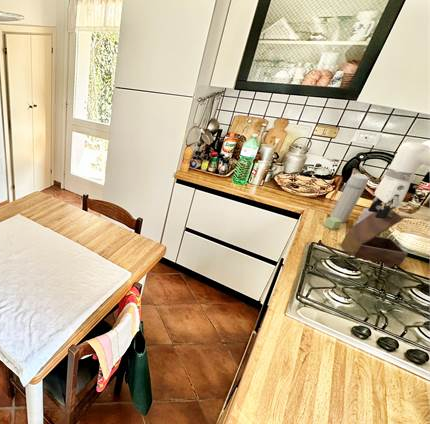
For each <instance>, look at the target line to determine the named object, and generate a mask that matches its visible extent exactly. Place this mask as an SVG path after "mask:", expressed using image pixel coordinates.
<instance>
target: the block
mask: <svg viewBox="0 0 430 424" xmlns="http://www.w3.org/2000/svg"><path fill="white" fill-rule="evenodd" d="M342 223H343V222H342V221H341V220H339V219H337V218H335V217H330V216H329V217H327V218H326V220H325V221H324V223H323V226H325V227H327V228H329V229H331V230H336V229H337V230H338V229H339V228H340V227H341V224H342Z"/></svg>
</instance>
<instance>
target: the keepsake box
mask: <svg viewBox="0 0 430 424" xmlns="http://www.w3.org/2000/svg"><path fill="white" fill-rule="evenodd" d="M340 246H341V248H342V249H343V251H344V252H345V253H346V254H347V256H348V257H349V256H351V255H353V256H355V257H360V258H363V259H366V260H370V261H372V262H374V263H376V262H379V260H381V259H382V260H383V263H384V266H383V267H385V266H387V267H386V268H390V267H391V268H390V269H393V268H392V267H393V265H394V264H397V265H398V266H399V267H400V266H401V265H402V263H403V262H404V261H405V260H406V258H407V256H408V253H407V251H405V249H403V248H402V247H401V246H400V245H399V243H397V242H396V241H395V240H394V239H393V238H392V237H391V238H390V237H386V236H381V235H380V236H379V235H378V236H376V237H374V238H373V239H371V240H370V241H368V242H366V243H365V244H363V245H361V244H360V243H359V242H358V241H357V239H356V238H355V237H354V236H353V235H352V234H351V232H350V231H349V230H348V231H347V232H346V235H345V236H344V238H343V240H342V242H341V243H340ZM350 254H351V255H350Z"/></svg>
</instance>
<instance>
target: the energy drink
mask: <svg viewBox="0 0 430 424" xmlns="http://www.w3.org/2000/svg"><path fill="white" fill-rule="evenodd" d="M369 208H370V207H364V208H363V209H362V211H361V213H360V214H359V216H358V218H357V219H356V222H355V223H354V225H353V226H355V225H356V224H357V223H359V222H360V221H362V220H363V219H365V218H366V217H368V216H369V215H371V214H372V213H374V212H369V211H368V210H369Z"/></svg>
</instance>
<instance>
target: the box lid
mask: <svg viewBox="0 0 430 424" xmlns="http://www.w3.org/2000/svg"><path fill="white" fill-rule="evenodd" d="M386 206H388V204H386ZM386 206H385V207H386ZM381 207H382V206H380V205H378V206H376V209H377V210H379V209H381ZM376 214H377V213H376V212H374V213H372V214H371V215H369V216H368V217H366V218H365V219H363V220H362V221H360V222H359V223H357V224H356V225H355V224H354V225H355V226H354V225H352V226H351V227H350V228H348V231H350V232H351V234H352V235H353V236H354V237H355V238H356V239H357V241H358V242H359V243H360V244H361V245H363V244H365V243H366V242H368V241H370V240H371V239H373V238H374V237H376V236H379V235H381V234H382V233H384V232H386V231H387V230H389V229H390V228H392V227H393V226H395V225H397V224H398V223H400V222H402V221H403V220H405V219H404V217H402V216H401V215H400V214H398V213H397V212H396V211H395V210H394V209H392V210H391V211H390V212H389V213H388V215H387V217H386V218H385V219H381V218H376V217H375V215H376Z"/></svg>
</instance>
